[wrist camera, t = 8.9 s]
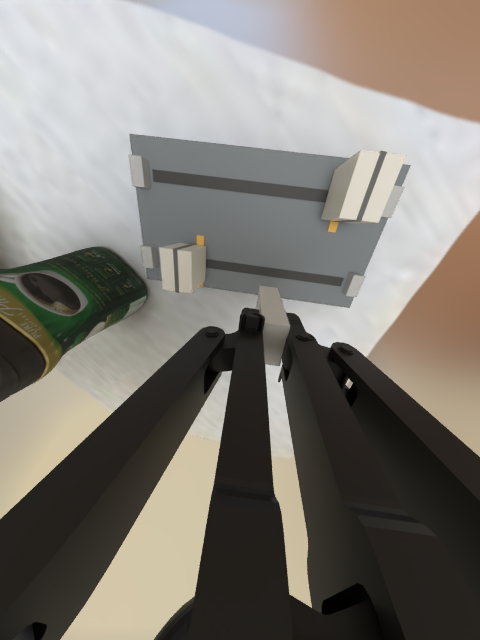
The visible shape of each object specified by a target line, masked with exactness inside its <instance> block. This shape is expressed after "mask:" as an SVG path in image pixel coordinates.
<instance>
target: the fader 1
mask: <svg viewBox="0 0 480 640" xmlns="http://www.w3.org/2000/svg"><path fill="white" fill-rule="evenodd" d="M159 252H160V263H161V275H162V286H163V290H169V291H175V292H178V293H179V292H183V293H190V294H192V293H193V292H194V291H195V290H196V289H197V288H198V287H199V286H200V285H201V284H202V283H203V282H204V281H205V275H206V246H201V245H195V244H186V243H177V244H173V245H168V246H164V247H159Z"/></svg>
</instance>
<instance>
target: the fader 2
mask: <svg viewBox="0 0 480 640" xmlns="http://www.w3.org/2000/svg"><path fill="white" fill-rule="evenodd" d="M405 158H406V155H400V154H391V153H387V152H385V151H380V152H373V151H363V150H360V151H359V152H358V153H356V154H355V155H354V156H352V157H351V158H350V159H348V160H347V161H346V162H344V163H343V164H342V165H340V166H339V167H338V168H336V169H335V170H334V174H333V178H332V181H331V185H330V188H329V192H328V195H327V199H326V203H325V206H324V210H323V213H322V217H321V220H329V221H333V222H345V223H379V220H380V218H381V216H382V213H383V211H384V208H385V206H386V203H387V201H388V199H389V196H390V194H391V191H392V189H393V187H394V184H395V182H396V179H397V177H398V174H399V172H400V170H401V167H402V165H403V162H404V160H405Z"/></svg>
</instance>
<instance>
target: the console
mask: <svg viewBox="0 0 480 640" xmlns="http://www.w3.org/2000/svg"><path fill="white" fill-rule="evenodd" d="M130 142H131V150H132V155H129V161H130V169H131V176H132V184H133V186H135V187H136V190H137V198H138V206H139V214H140V222H141V230H142V238H143V245H142V246H141V252H142V260H143V267H146V270H147V278H148V279H153V280H160V281H162V275H161V263H160V252H159V247H164V246H168V245H173V244H177V243H186V244H195V245H201V246H206V275H205V281H204V282H203V283H202V284H201V285H200V286H199V287H208V288H215V289H222V290H229V291H236V292H243V293H250V294H257V295H258V293H259V287H260V286H267V287H275V288H278V291H279V294H280V297H281V298H285V299H291V300H298V301H305V302H312V303H319V304H326V305H333V306H340V307H347V308H350V305H351V303H352V301H353V298H354V297H357V295H358V292H359V290H360V288H361V285H362V283H363V281H364V279H365V276H363V275H364V273H365V270H366V268H367V266H368V263H369V261H370V259H371V256H372V254H373V252H374V249H375V247H376V245H377V242H378V240H379V238H380V235H381V233H382V231H383V228H384V226H385V224H386V222H387V219H388V218H391V217H392V215H393V212H394V210H395V208H396V205H397V203H398V201H399V199H400V196H401V194H402V192H403V189H404V187H402V184H403V182H404V180H405V177H406V175H407V173H408V170H409V168H410V166H411V165H404V164H403V165H402V167H401V170H400V172H399V174H398V177H397V179H396V182H395V184H394V187H393V189H392V191H391V194H390V196H389V199H388V201H387V203H386V206H385V208H384V211H383V213H382V216H381V218H380V220H379V223H345V222H333V221H329V220H321V217H322V213H323V210H324V206H325V203H326V199H327V195H328V192H329V188H330V185H331V181H332V178H333V174H334V170H335V169H336V168H338V167H339V166H340V165H342V164H343V163H344V162H346V161H347V160H348V159H350V158H342V157H333V156H324V155H315V154H306V153H297V152H288V151H279V150H270V149H261V148H252V147H243V146H234V145H225V144H216V143H207V142H198V141H189V140H180V139H171V138H162V137H153V136H144V135H135V134H130Z"/></svg>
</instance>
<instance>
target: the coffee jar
mask: <svg viewBox="0 0 480 640" xmlns="http://www.w3.org/2000/svg"><path fill="white" fill-rule="evenodd" d="M146 298H147V291H146V287H145V285H144V284H143V282H142V281H141V280H140V278H139V277H138V276H137V275H136V274H135V273H134V272H133V271H132V269H130V268H129V267H128V266H127V265H126V264H125V263H124V262H123V261H122V260H121V259H120V258H118V257H117V256H116V255H115V254H113V253H112V252H111V251H109V250H107V249H105V248H102V247H91V248H86V249H82V250H78V251H75V252H72V253H68V254H65V255H62V256H59V257H55V258H52V259H48V260H44V261H41V262H37V263H33V264H29V265H25V266H21V267H17V268H12V269H7V270H1V271H0V402H1V401H3V400H5V399H6V398H7V397H9V396H10V395H12V394H14V393H16V392H18V391H20V390H22V389H24V388H25V387H27V386H29V385H31V384H33V383H35V382H37V381H39V380H40V379H42V378H43V377H44V376H46V375H47V374H48V373H49V372H50V371H51V370H52V369H53V368H54V367H55V366H56V364H57V363H58V362H59V360H60V359H61V357H62V356H63V355H64V354H65V353H66V352H67V351H69V350H70V349H72V348H73V347H75V346H76V345H78V344H79V343H81V342H82V341H84V340H86V339H87V338H89V337H91V336H93V335H94V334H96V333H98V332H100V331H102V330H104V329H106V328H107V327H109V326H111V325H113V324H115V323H117V322H119V321H121V320H123V319H125V318H126V317H128V316H130V315H131V314H133V313H134V312H136V311H137V310H138V309H139V308H140V307H141V306H142V305H143V304H144V302H145V300H146Z"/></svg>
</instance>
